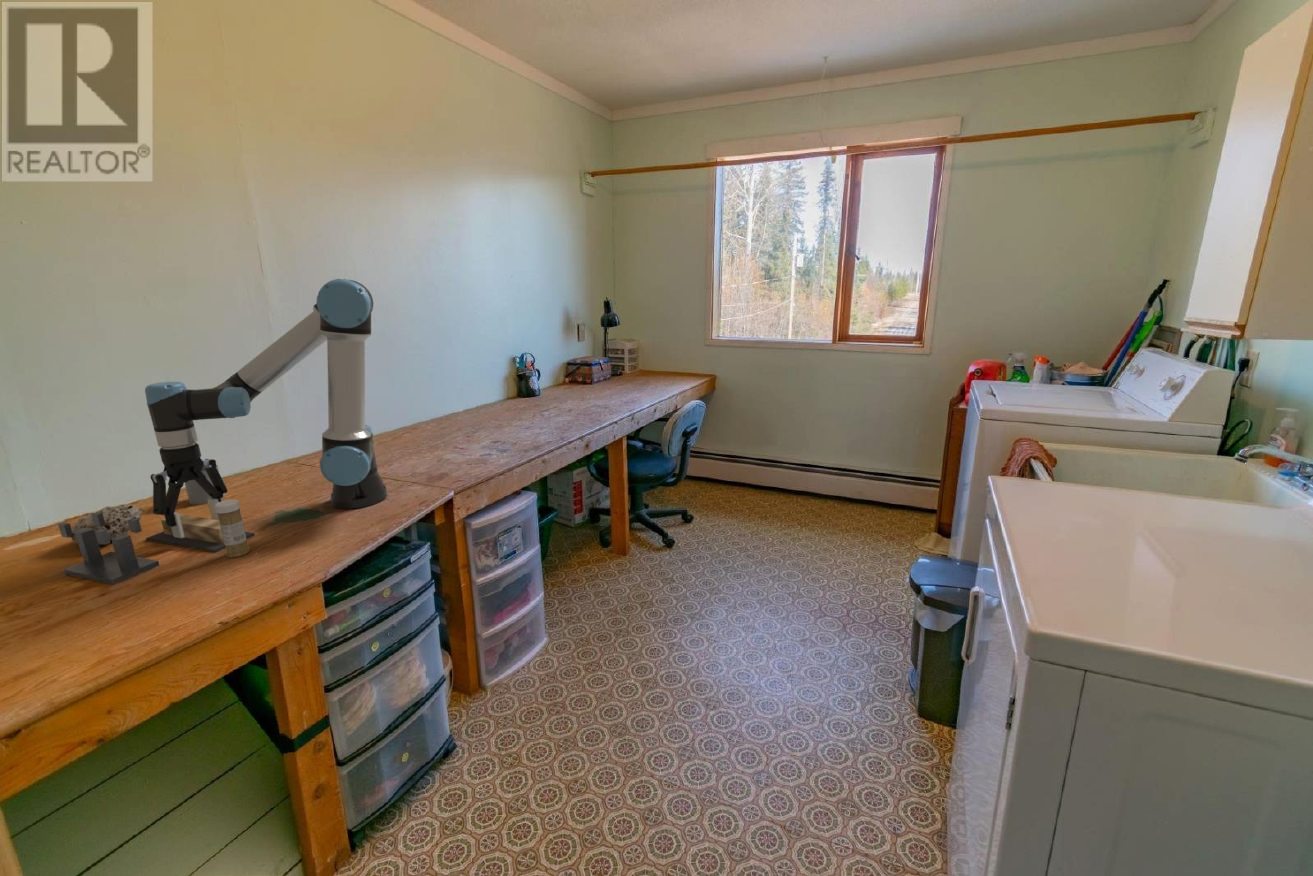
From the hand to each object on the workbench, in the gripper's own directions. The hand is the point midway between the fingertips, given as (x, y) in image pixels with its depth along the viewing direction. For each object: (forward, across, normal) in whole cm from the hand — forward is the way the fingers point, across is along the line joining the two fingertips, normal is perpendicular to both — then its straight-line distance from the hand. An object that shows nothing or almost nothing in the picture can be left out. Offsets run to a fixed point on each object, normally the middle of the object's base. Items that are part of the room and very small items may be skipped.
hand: (199, 529), depth 142 cm
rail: (+2, 0, 0) cm, 2 cm away
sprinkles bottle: (+3, +4, +18) cm, 19 cm away
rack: (+2, +18, -2) cm, 18 cm away
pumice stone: (+3, +7, -21) cm, 22 cm away
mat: (+2, 0, 0) cm, 2 cm away
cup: (+3, -20, -26) cm, 33 cm away
